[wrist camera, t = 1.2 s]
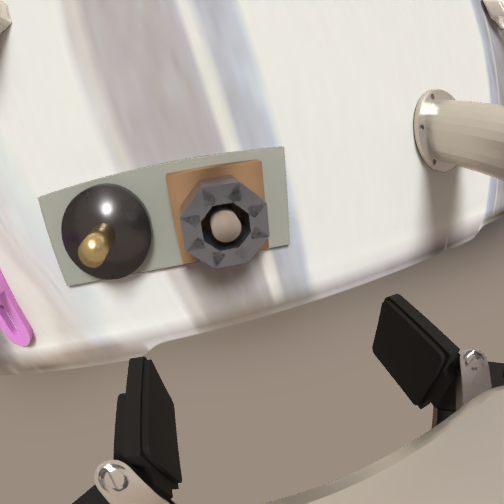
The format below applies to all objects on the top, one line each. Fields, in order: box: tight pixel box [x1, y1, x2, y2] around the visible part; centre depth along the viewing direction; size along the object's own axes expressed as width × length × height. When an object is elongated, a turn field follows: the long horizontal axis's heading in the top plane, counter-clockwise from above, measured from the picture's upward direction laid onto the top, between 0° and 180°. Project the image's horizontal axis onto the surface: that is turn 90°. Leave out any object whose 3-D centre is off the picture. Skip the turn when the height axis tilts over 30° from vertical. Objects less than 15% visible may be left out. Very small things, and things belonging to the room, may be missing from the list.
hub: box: [61, 183, 152, 279], centre depth 24 cm, size 10×10×6 cm
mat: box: [38, 147, 290, 286], centre depth 28 cm, size 27×11×1 cm, turn 96°
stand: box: [166, 159, 269, 264], centre depth 25 cm, size 9×9×6 cm
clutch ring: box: [180, 175, 270, 269], centre depth 25 cm, size 7×7×4 cm
